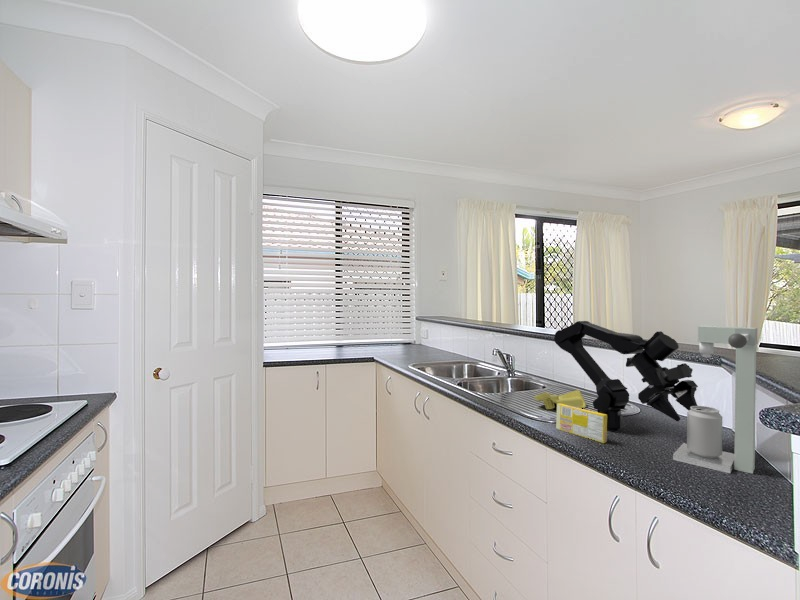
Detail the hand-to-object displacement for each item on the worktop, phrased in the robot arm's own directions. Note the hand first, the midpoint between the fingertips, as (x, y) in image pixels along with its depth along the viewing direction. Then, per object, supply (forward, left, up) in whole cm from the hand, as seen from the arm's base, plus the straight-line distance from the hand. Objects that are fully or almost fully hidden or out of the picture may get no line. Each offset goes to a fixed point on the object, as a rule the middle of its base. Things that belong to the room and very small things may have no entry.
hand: (689, 418), depth 113 cm
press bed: (+4, -1, -10) cm, 11 cm away
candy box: (-27, -5, -10) cm, 29 cm away
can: (+3, -1, -8) cm, 9 cm away
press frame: (+8, -9, -10) cm, 16 cm away
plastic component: (-46, +22, -10) cm, 52 cm away
